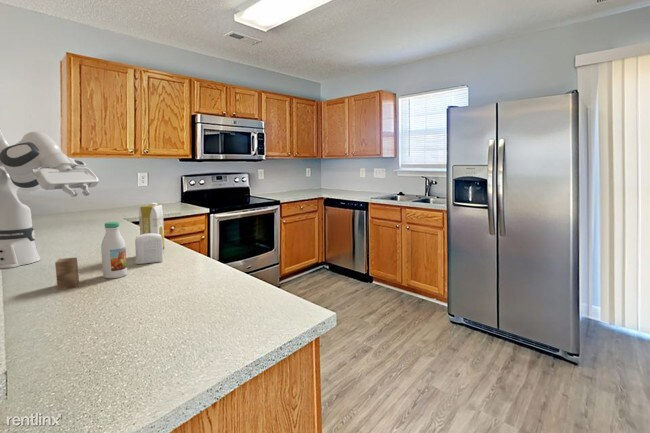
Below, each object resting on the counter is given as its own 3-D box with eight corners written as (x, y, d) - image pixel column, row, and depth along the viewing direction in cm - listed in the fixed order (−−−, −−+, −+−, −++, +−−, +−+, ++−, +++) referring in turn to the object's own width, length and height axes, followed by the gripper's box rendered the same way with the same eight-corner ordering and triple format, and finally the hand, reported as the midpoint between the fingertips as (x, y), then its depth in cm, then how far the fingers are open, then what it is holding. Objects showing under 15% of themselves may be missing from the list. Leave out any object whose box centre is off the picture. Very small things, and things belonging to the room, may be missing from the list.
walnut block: (57, 289, 115) (55, 262, 114) (61, 284, 120) (59, 258, 118) (75, 287, 117) (73, 261, 116) (79, 282, 122) (77, 257, 120)
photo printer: (162, 259, 152) (161, 231, 150) (164, 261, 149) (162, 233, 147) (135, 262, 147) (133, 233, 145) (136, 265, 143) (135, 235, 141)
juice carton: (157, 258, 153) (154, 204, 150) (139, 258, 153) (135, 203, 150) (166, 253, 163) (164, 202, 159) (149, 252, 163) (147, 201, 159)
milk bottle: (102, 280, 125) (98, 224, 122) (104, 274, 131) (100, 221, 128) (127, 277, 128) (123, 223, 125) (127, 271, 135) (124, 220, 132)
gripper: (32, 161, 119) (56, 191, 118) (88, 162, 139) (109, 187, 138) (24, 174, 121) (48, 203, 120) (80, 172, 141) (101, 198, 140)
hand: (81, 195), depth 129 cm, fingers open, 3 cm apart
